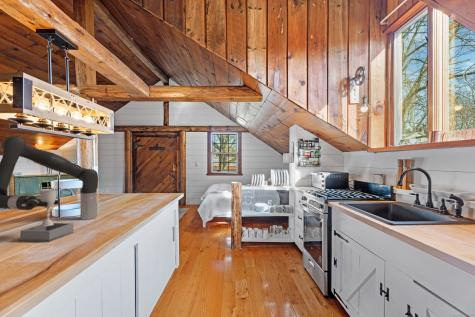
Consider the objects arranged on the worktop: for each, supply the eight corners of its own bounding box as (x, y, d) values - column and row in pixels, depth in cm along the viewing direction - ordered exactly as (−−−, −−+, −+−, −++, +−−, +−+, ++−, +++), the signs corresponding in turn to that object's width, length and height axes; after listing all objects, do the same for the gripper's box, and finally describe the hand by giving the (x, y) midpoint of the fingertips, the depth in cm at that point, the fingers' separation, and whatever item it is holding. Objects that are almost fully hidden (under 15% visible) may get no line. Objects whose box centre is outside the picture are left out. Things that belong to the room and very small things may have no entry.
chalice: (40, 227, 118) (41, 190, 118) (36, 225, 122) (37, 189, 122) (58, 224, 124) (59, 189, 124) (54, 222, 128) (55, 188, 128)
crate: (47, 231, 131) (47, 222, 131) (73, 232, 130) (73, 223, 130) (20, 240, 116) (20, 230, 116) (49, 241, 115) (49, 231, 115)
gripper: (8, 197, 117) (40, 198, 116) (35, 193, 131) (64, 194, 130) (7, 212, 117) (40, 213, 116) (35, 207, 131) (63, 208, 130)
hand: (52, 203), depth 123 cm, fingers closed on chalice, 6 cm apart
